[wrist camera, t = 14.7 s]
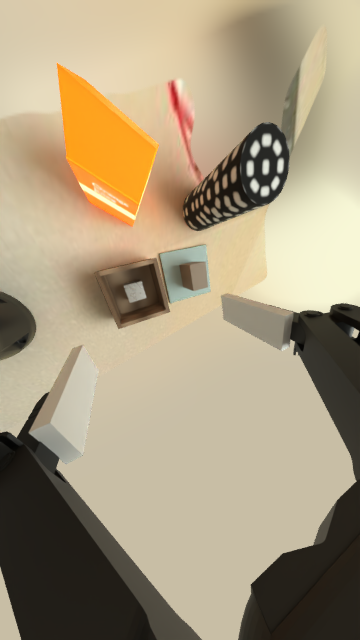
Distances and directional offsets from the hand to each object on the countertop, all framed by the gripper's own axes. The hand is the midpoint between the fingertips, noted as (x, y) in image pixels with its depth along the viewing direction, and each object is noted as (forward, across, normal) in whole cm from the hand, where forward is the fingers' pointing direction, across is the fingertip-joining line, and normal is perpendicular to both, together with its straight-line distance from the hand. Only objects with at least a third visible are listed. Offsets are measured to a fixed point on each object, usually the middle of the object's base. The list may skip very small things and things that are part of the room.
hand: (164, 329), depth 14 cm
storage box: (+28, 0, 0) cm, 28 cm away
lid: (+28, +15, -1) cm, 32 cm away
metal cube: (+27, 0, 0) cm, 27 cm away
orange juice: (+28, +3, +18) cm, 34 cm away
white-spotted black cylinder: (+28, +21, +13) cm, 37 cm away
